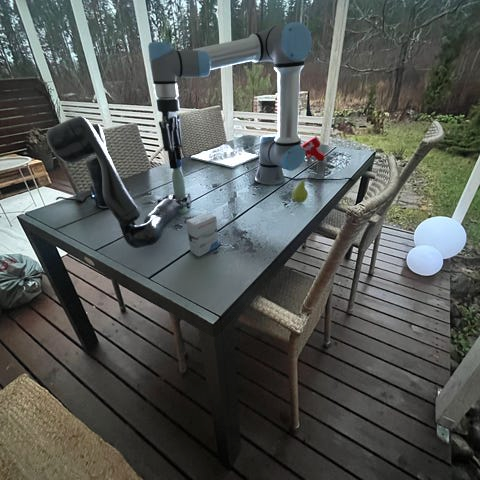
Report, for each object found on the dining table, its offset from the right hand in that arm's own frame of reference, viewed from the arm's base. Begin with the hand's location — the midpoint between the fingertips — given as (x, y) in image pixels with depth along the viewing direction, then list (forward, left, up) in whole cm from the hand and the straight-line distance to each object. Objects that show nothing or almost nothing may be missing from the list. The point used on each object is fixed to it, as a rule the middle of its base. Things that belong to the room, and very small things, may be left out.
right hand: (176, 166), depth 104 cm
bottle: (0, 0, -19) cm, 19 cm away
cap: (0, 0, +2) cm, 2 cm away
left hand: (0, -3, -13) cm, 13 cm away
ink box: (-21, +23, -19) cm, 37 cm away
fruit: (-46, -24, -19) cm, 55 cm away
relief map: (+11, -79, -19) cm, 82 cm away
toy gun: (-42, -88, -19) cm, 99 cm away
